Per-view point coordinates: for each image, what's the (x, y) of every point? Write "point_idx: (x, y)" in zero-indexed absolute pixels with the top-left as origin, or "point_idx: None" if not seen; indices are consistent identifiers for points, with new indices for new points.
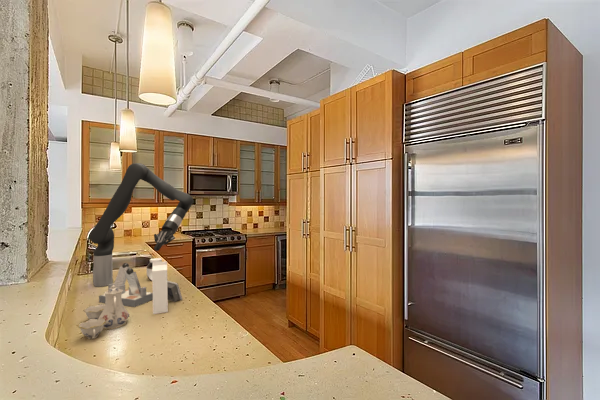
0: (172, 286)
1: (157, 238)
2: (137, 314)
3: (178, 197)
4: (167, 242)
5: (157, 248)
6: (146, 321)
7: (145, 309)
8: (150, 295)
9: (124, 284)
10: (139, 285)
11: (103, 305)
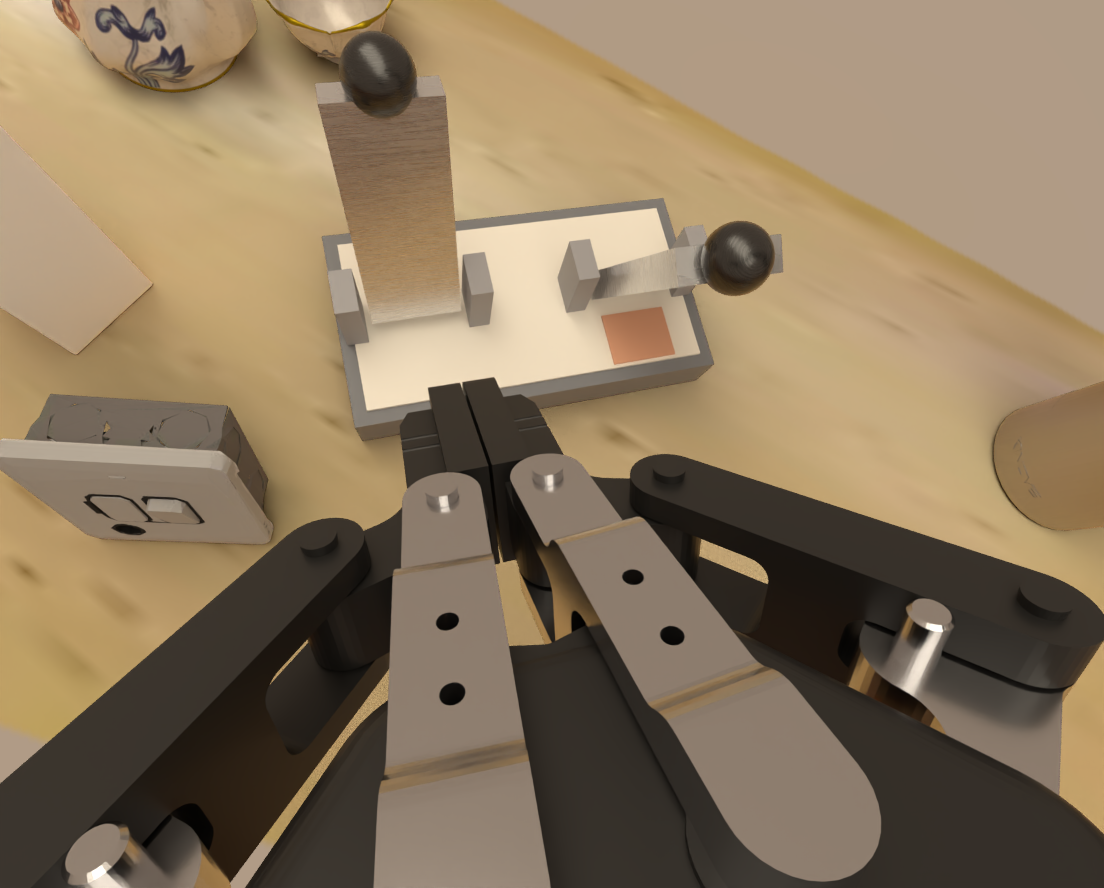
0: (51, 419)
1: (783, 602)
2: (184, 186)
3: None
4: (291, 681)
5: (421, 417)
6: (9, 134)
7: (216, 265)
8: (348, 387)
9: (610, 296)
10: (355, 252)
11: (347, 29)
